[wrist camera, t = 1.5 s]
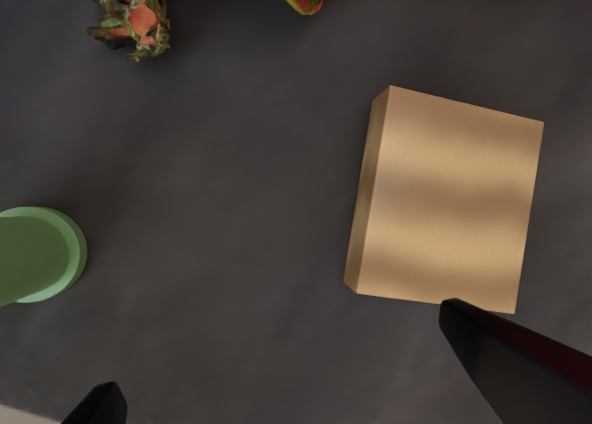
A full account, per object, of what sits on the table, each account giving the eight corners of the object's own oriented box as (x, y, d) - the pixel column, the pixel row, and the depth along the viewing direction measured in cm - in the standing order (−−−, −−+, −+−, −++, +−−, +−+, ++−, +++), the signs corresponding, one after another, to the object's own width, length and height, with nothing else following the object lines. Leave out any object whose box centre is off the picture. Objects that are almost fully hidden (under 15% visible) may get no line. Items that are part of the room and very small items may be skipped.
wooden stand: (482, 301, 24) (514, 314, 22) (342, 282, 23) (356, 293, 20) (509, 132, 25) (544, 121, 22) (372, 100, 23) (390, 84, 20)
